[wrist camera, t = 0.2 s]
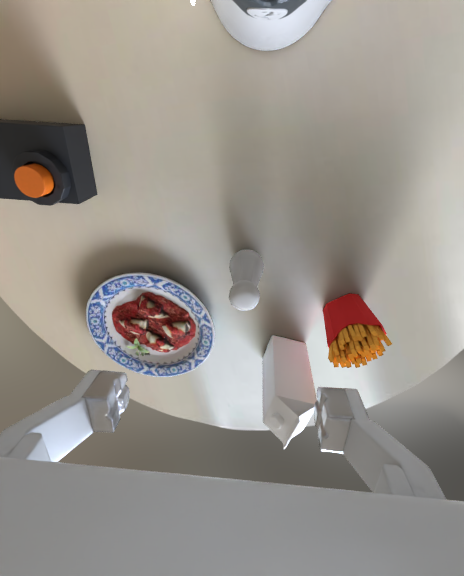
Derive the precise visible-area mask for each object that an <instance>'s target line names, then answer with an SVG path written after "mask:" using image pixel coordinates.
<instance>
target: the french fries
mask: <svg viewBox="0 0 464 576" xmlns="http://www.w3.org/2000/svg"><path fill="white" fill-rule="evenodd" d="M323 314H324V321H325V329H326V336H327V344H328V347H329V356H328V359H329V360H330V362H333V364H334V367H339V366H338V363H340V365H341V367H342V368H343V367H347V368H349V367H351V362H352V364H355V367H356V368H357V367H360V363H362V365H367V362H368V361H371V358H373V360H374V359H377V356H376V353H375V352H376V351H377V353H378V355H379V356H382V355H383V353H382V352H384V351H385V349H384V346H383V345H382V343H381V340H384V341H385V343H386V344H387V345H388V346H389V345H391V344H392V343H391V342H390V340H389V339H388V337H387V336H386V332H385V330H384V328H383V326H382V324H381V323H380V322H379V320H378V319H377V318H376V317H375V315H374V314H373V313H372V311H371V310H370V309H369V308H368V306H367V305H366V304H365V302H364V301H363V300H362V299H361V297H360V296H359V295H358V294H351V293H349V294H347V295H344V296H342V297H339V298H337V299H335V300H333V301H331V302H329V303H327V304H326V306H325V307H324V309H323ZM359 354H360V355H359ZM365 357H366V359H367V362H366V359H365ZM360 358H361V359H360ZM350 361H351V362H350ZM345 364H346V365H345Z"/></svg>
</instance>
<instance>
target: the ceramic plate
mask: <svg viewBox="0 0 464 576" xmlns="http://www.w3.org/2000/svg"><path fill="white" fill-rule="evenodd" d="M86 323H87V327H88V330H89V332H90V334H91V336H92V338H93V340H94V342H95V343H96V344H97V345H98V347H99V348H100V349H101V350H102V351H103V352H104V353H105V354H106V355H107V356H108V357H109V358H111V359H112V360H113V361H115V362H116V363H117V364H119V365H121V366H123V367H125V368H127V369H129V370H132V371H134V372H137V373H140V374H144V375H149V376H155V377H169V376H178V375H181V374H184V373H187V372H190V371H192V370H194V369H195V368H197V367H198V366H200V365H201V364H202V363H203V362H204V361H205V360H206V359H207V358H208V356H209V355H210V353H211V351H212V348H213V345H214V339H215V330H214V325H213V321H212V318H211V316H210V314H209V312H208V310H207V308H206V307H205V306H204V304H203V303H202V302H201V301H200V300H199V298H198V297H197V296H196V295H194V294H193V293H192V292H191V291H190V290H188V289H187V288H186V287H184V286H182V285H181V284H179V283H177V282H175V281H173V280H171V279H168V278H166V277H163V276H159V275H155V274H150V273H139V272H137V273H125V274H121V275H117V276H114V277H112V278H110V279H108V280H106V281H104V282H103V283H101V284H100V285H99V286H98V287H97V288H96V289H95V290H94V291H93V293H92V294H91V296H90V298H89V300H88V302H87V306H86Z"/></svg>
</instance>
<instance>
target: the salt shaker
mask: <svg viewBox="0 0 464 576" xmlns="http://www.w3.org/2000/svg"><path fill="white" fill-rule="evenodd" d="M229 268H230V272H231V276H232V280H233V286H232V287H231V289H230V293H229V299H230V302H231V305H233V306H234V307H235V308H236V309H239V310H242V311H246V310H250V309H253V308H255V306H256V305H257V304H258V302H259V297H260V292H259V290H258V287H257V286H258V283H259V281H260V278H261V276H262V273H263V269H264V263H263V260H262V257H261V256H260V255H259V254H258V253H257V252H255V251H252V250H244V249H243V250H241V251H239V252H237V253H235V254H234V256H233V257H232V258H231V260H230V266H229Z"/></svg>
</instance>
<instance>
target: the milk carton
mask: <svg viewBox="0 0 464 576" xmlns="http://www.w3.org/2000/svg"><path fill="white" fill-rule="evenodd" d="M262 374H263V423H264V424H265V425H266V426H267V427H268V428H269V429H270V430H271V431H272V432H273V433H274V434H275V435H276V436H277V437H278V438H279V439H280V440H281V441H282V442H283V446H284V449H285V448H286V446H287V445H288V443H289V441H290V439H291V438H292V437H294V436H295V435H297V434H298V433H300V432H301V431H303V429H304V427H305V426H306V424H307V422H308V421H309V419H310V417H311V416H312V414H313V412H314V406H315V402H316V401H317V399H316V394H315V388H314V383H313V378H312V373H311V367H310V362H309V357H308V352H307V346H306V343H303V342H299V341H295V340H291V339H287V338H282V337H278V336H274V335H272V336H271V339H270V341H269V344H268V346H267V349H266V351H265V354H264V357H263V360H262Z"/></svg>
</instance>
